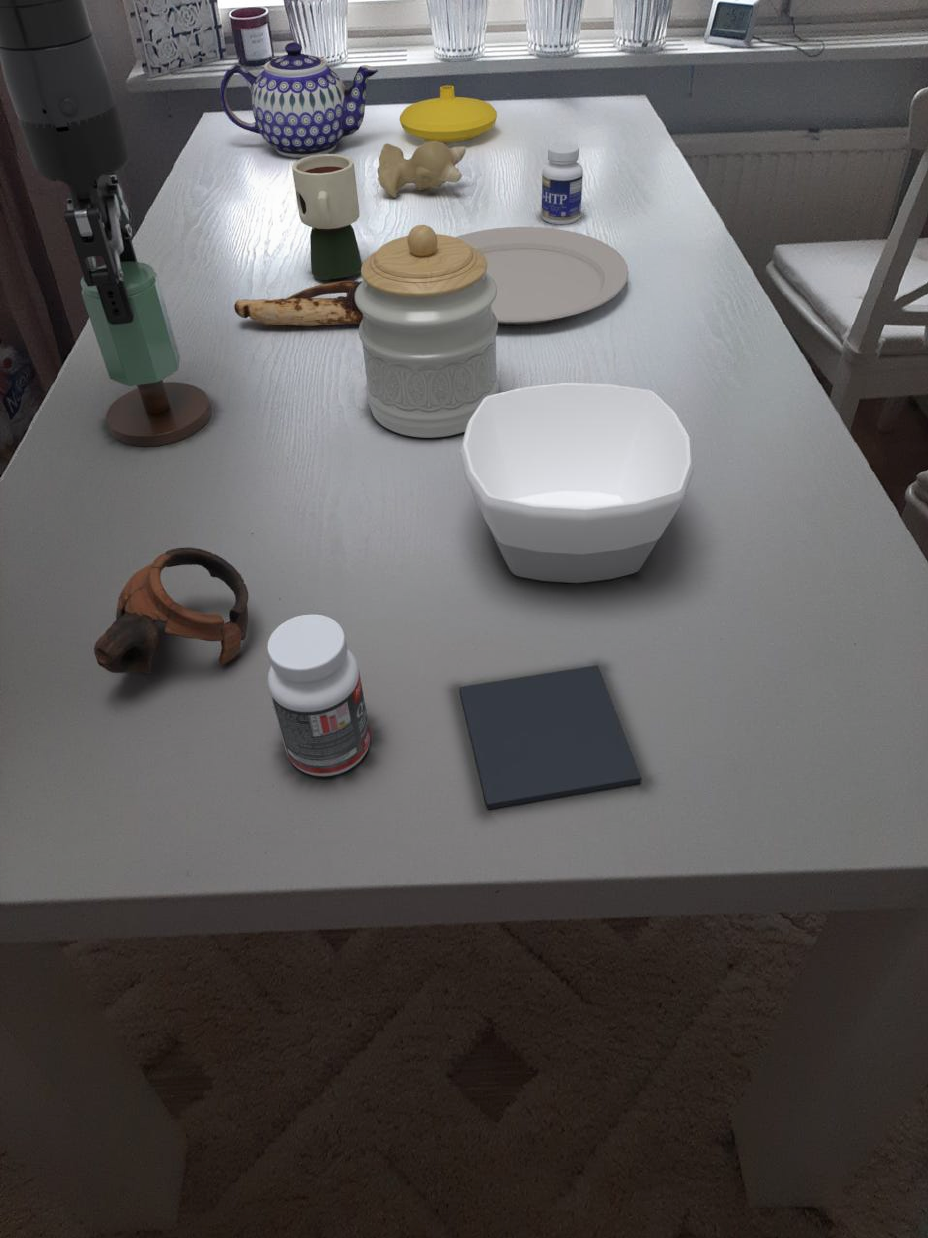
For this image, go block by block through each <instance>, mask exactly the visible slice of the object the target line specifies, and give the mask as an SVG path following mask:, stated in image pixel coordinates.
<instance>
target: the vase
mask: <svg viewBox="0 0 928 1238" xmlns="http://www.w3.org/2000/svg"><path fill="white" fill-rule="evenodd" d="M497 117H498V111H497V110H496V109H495V108H494V107H493V105H492V104H490V103H489V102H487V101H485V100H482V99H478V98H472V97H464V96H463V97H462V96H456V95H455V86H453V85H442V86H440V87H439V97H434V98H429V99H424V100H420V101H417V102H414V103H411V104H410V105H408V106H407V107H405V108H404V109H403V111H402V112H401V113H400V115H399V123H400V125H401V128H402V129H403V130H404V132H406V133H408V134H409V135H412V136H413V137H416V138H417V139H420V140H423V141H426V142H429V141H439V142H442V143H443V144H446V143H458V142H464V141H469V140H472V139H475V138H477V137H479V136H480V135H482V134H484V133H485V132H487V131H489V130H490V129H492V128H493V127H494V126H495V124H496V121H497Z"/></svg>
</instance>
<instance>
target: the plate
mask: <svg viewBox="0 0 928 1238" xmlns="http://www.w3.org/2000/svg"><path fill="white" fill-rule="evenodd" d="M454 237H455V238H458V239H460V240H462V241H464V242H465V243H467V244H468V245H469V246H471V247H473V248H475V249H477V250H478V251H480V252H481V253H482V254H483V255H484V256H485V258H486V260H487V270H486V273H487V274H489V275H490V276H491V277H492V278H493V280H494V281H495V283H496V286H497V295H496V298H495V300H494V302H493V303H492V304H491V306H492V311H493V313H494V314H495V316H496V318H497V321H498V325H517V326H518V325H532V324H533V325H534V324H541V323H547V322H553V321H557V320H561V319H565V318H567V317H570V316H575V315H578V314H581V313H584V312H588V311H590V310H593V309H595V308H598V307H600V306H602V305H603V304H605V303H607V302H608V301H610V300H611V299H613V298H615V297H616V296H617V295H618V294H619V293H620V292H621V291H622V290H623V289H624V287H625V286H626V284H627V281H628V279H629V267H628V264H627V262H626V259H625V258H624V257H623V256H622V254H621V253H620V252H618V250H616V249H615V248H614V247H612V246H611V245H609V244H607V243H606V242H603V241H602V240H599V239H597V238H595V237H592V236H589V235H586V234H582V233H579V232H576V231H570V230H567V229H559V228H551V227H541V226H508V227H499V228H498V227H497V228H490V229H483V230H477V231H473V232H469V233H465V234H462V235H458V236H454Z"/></svg>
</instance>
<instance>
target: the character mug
mask: <svg viewBox="0 0 928 1238" xmlns="http://www.w3.org/2000/svg"><path fill="white" fill-rule="evenodd" d="M354 162H355V161H354V160H353V158H351V157H350V156H347V155H344V154H339V153H327V154H320V155H313V156H309V157H305V158H299V159H298V160H296V161H294V162H293V163H292V164H291V170H292V177H293V183H294V184H293V185H294V189H295V198H296V204H297V209H298V216H299V219H300V222H301V223H302V224H303V225H305V226H307V227H310V228H311V231H310V236H309V238H310V246H309V247H310V269H311V270H310V271H311V274H312V276H313V277H314V278H315V279H319V280H323V281H326V280H336V281H337V280H339V279H341V278H347V277H352V276H354V275H358V274H359V273H361V267H362V264H363V261H362V258H361V257H362V256H361V253H360V248H359V245H358V240H357V237H356V233H355V229H354V228H353V226H352V224H354V223H355V222H357V221H358V219H359V218H360V204H359V196H358V188H357V178H356V170H355V169H356V168H355V163H354Z"/></svg>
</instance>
